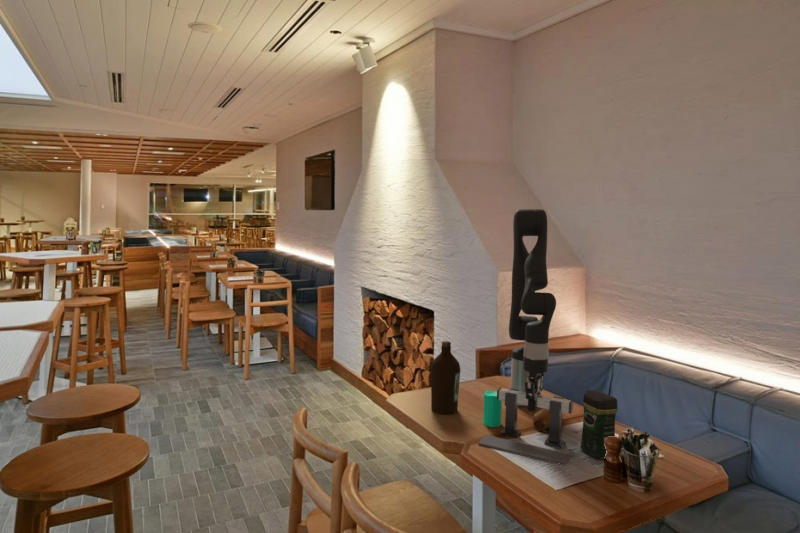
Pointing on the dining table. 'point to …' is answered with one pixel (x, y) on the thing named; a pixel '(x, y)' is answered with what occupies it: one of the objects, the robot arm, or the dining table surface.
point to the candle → (492, 409)
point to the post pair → (554, 426)
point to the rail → (540, 400)
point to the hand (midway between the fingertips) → (533, 408)
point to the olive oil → (445, 381)
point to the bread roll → (542, 420)
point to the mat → (525, 449)
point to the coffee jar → (597, 422)
